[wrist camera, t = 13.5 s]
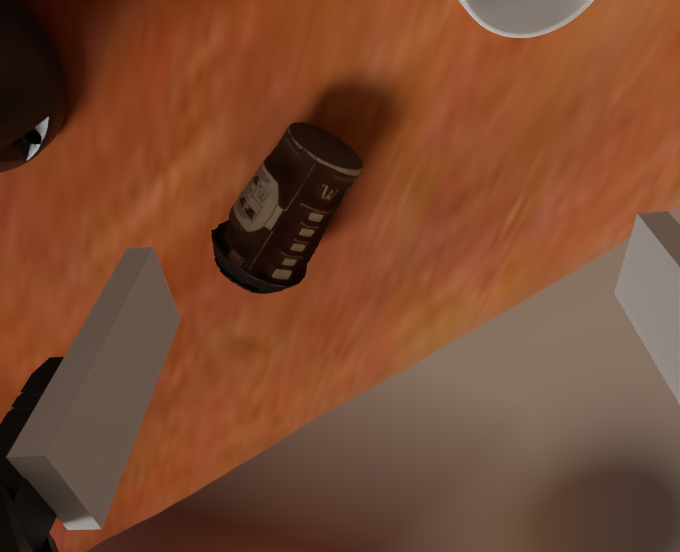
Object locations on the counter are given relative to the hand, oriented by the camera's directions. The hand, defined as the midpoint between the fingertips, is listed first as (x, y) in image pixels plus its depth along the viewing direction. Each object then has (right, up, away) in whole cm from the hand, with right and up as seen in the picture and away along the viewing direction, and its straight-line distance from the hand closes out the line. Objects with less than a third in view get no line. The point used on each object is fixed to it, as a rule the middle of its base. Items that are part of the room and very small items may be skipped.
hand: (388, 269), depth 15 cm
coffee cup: (-2, +10, +25) cm, 27 cm away
